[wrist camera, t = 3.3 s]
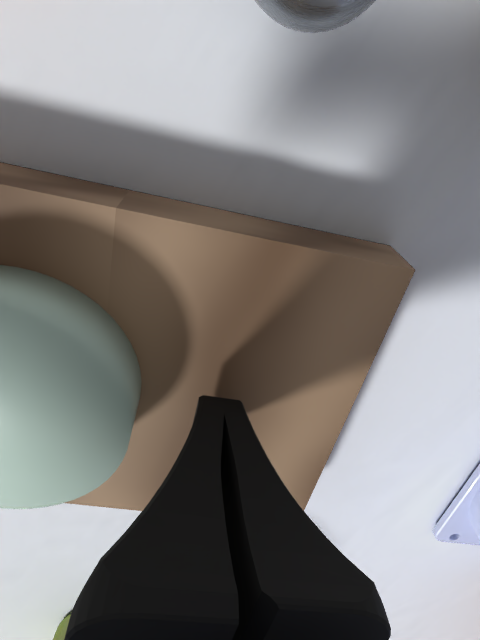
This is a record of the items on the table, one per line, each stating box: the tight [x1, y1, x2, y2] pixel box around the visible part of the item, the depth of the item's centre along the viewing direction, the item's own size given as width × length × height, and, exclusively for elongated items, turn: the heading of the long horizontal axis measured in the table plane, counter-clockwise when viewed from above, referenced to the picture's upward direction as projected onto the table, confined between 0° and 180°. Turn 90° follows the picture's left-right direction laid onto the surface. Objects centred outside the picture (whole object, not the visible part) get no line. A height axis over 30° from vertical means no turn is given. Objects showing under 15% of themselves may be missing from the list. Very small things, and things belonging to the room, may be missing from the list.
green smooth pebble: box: [0, 265, 142, 509], centre depth 13 cm, size 8×8×2 cm
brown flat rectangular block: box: [0, 162, 415, 511], centre depth 14 cm, size 22×12×2 cm, turn 77°
